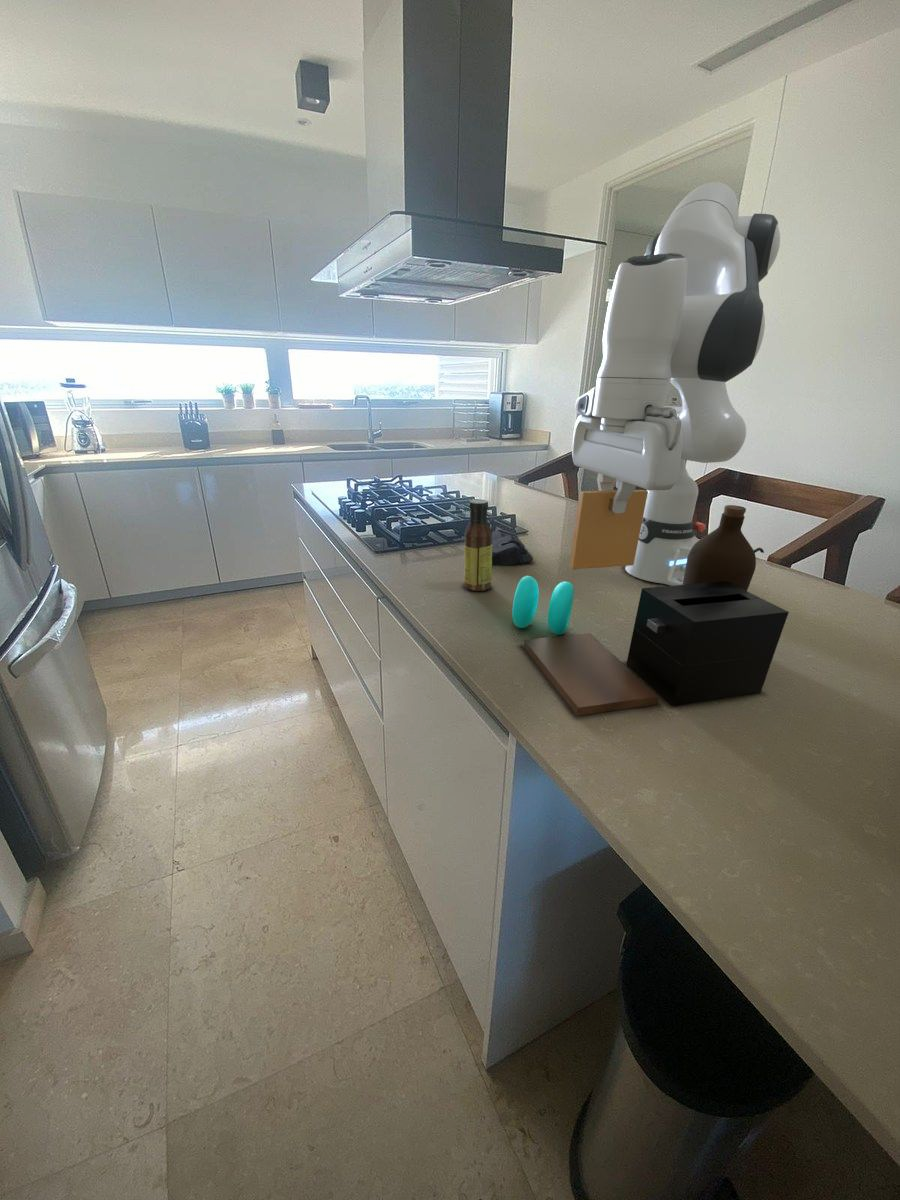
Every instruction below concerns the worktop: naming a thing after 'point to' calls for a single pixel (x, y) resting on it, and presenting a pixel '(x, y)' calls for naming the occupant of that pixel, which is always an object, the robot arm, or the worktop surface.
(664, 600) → the toaster
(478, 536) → the sauce bottle
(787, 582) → the worktop surface
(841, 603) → the worktop surface
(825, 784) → the worktop surface
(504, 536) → the dark slate chunk
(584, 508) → the toast
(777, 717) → the worktop surface
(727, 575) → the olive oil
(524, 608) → the turquoise disc pair
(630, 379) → the robot arm
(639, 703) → the cutting board
